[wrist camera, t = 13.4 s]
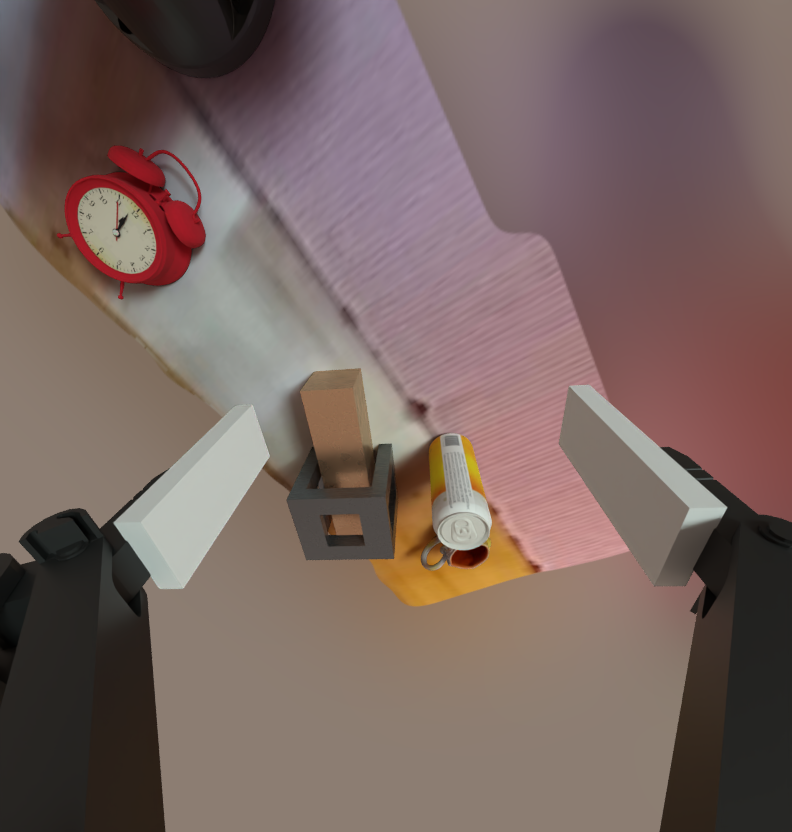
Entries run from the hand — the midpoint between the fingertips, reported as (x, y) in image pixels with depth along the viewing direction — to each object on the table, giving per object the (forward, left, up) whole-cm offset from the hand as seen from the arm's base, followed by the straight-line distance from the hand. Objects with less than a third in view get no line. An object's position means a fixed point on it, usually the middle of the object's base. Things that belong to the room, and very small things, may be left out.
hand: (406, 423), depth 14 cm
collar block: (+24, -10, -27) cm, 37 cm away
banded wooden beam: (+19, -10, -27) cm, 35 cm away
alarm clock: (-10, -27, -27) cm, 40 cm away
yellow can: (+20, +4, -27) cm, 34 cm away
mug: (+36, +4, -27) cm, 45 cm away
